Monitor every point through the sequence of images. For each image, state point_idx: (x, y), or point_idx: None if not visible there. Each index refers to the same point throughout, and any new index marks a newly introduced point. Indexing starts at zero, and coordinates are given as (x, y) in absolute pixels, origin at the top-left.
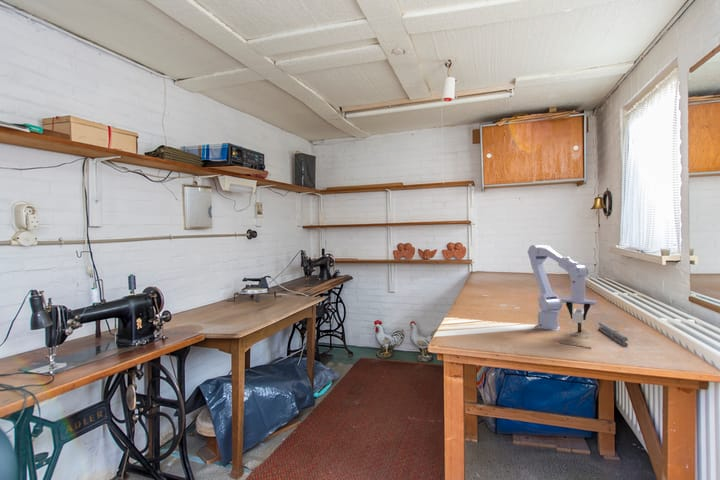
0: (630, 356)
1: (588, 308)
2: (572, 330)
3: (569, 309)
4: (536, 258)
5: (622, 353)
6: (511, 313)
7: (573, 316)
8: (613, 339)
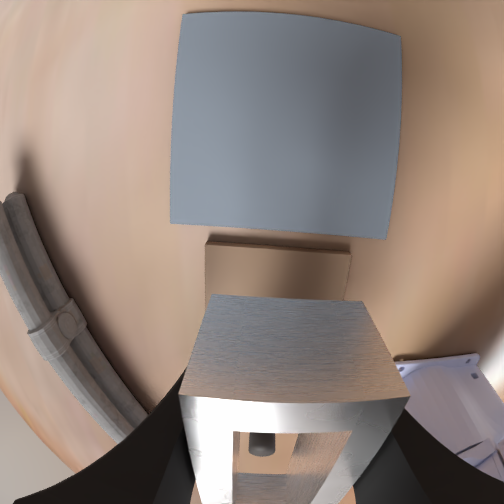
0: (20, 37)
1: (34, 499)
2: None
3: (453, 469)
4: None
5: (37, 56)
6: None
7: (369, 356)
8: (71, 300)
